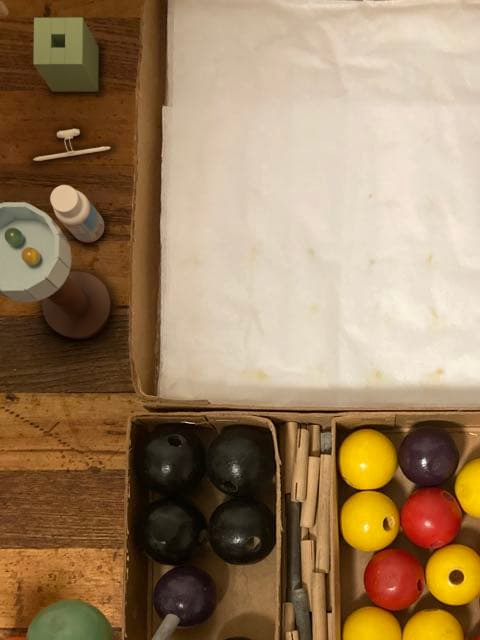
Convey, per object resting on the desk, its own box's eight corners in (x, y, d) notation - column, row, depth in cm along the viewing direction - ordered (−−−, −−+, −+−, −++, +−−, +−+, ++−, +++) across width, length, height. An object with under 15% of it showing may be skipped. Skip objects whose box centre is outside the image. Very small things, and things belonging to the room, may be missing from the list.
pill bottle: (92, 204, 151) (68, 173, 140) (112, 231, 151) (89, 201, 140) (64, 223, 151) (38, 193, 140) (84, 250, 151) (59, 222, 140)
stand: (51, 91, 153) (33, 64, 145) (52, 47, 153) (33, 17, 145) (98, 91, 153) (82, 64, 145) (98, 47, 153) (82, 17, 145)
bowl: (-17, 302, 129) (-34, 290, 124) (-16, 217, 130) (-32, 202, 125) (71, 301, 129) (58, 290, 124) (72, 216, 130) (59, 201, 125)
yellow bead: (40, 261, 130) (22, 262, 129) (37, 244, 128) (19, 245, 127) (42, 267, 128) (23, 268, 127) (39, 249, 126) (20, 250, 125)
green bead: (12, 250, 129) (-1, 234, 128) (25, 240, 130) (13, 225, 128) (14, 248, 127) (1, 233, 125) (28, 238, 127) (15, 223, 126)
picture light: (34, 162, 152) (29, 156, 150) (31, 139, 152) (25, 133, 150) (111, 150, 152) (107, 144, 150) (107, 127, 152) (104, 121, 150)
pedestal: (44, 339, 150) (-13, 298, 129) (45, 273, 150) (-11, 221, 129) (112, 338, 150) (66, 297, 129) (112, 273, 151) (67, 221, 130)
